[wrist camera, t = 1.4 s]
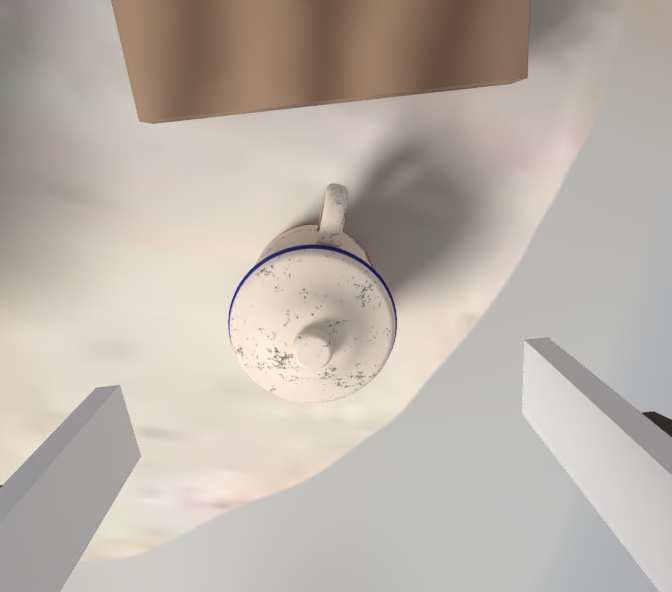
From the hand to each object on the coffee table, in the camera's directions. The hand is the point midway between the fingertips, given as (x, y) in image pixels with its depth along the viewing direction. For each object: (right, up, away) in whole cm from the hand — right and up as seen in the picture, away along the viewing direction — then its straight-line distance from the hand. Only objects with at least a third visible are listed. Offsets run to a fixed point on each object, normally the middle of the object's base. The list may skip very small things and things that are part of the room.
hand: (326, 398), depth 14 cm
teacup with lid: (-1, +6, +17) cm, 18 cm away
